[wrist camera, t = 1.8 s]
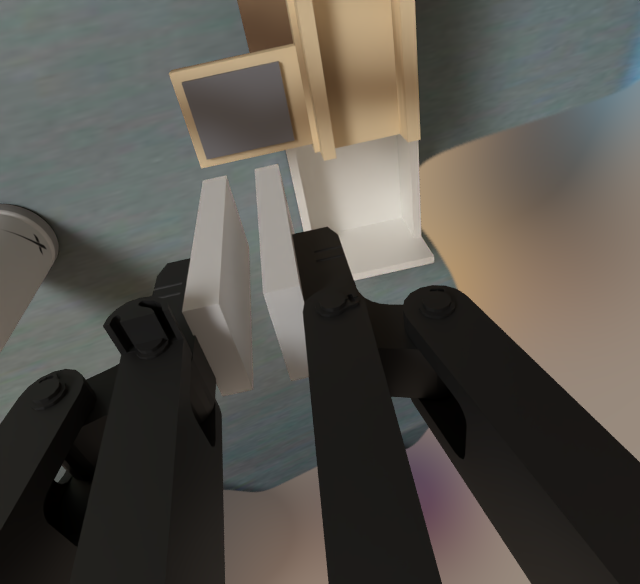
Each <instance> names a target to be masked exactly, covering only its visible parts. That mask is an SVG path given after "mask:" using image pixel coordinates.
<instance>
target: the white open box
mask: <svg viewBox="0 0 640 584" xmlns="http://www.w3.org/2000/svg"><path fill="white" fill-rule="evenodd" d="M335 151H336V158H335V159H331V160H326V161H324V160H323V157H322V155H321V153H320V152H316V153H315V152H314V149H313V147H312V144H310V145H305V146H301V147H296V148H291V149H287V150H286V154H287V159H288V163H289V168H290V172H291V177H292V181H293V186H294V190H295V195H296V199H297V204H298V208H299V213H300V217H301V222H302V226H303V231H304V232H305V231H310V230H314V229H319V228H323V227H329V228H330V229H331V230H333V231H334V232H335V233H337V234H338V236H339V239H340V242H341V245H342V247H343V250H344V253H345V256H346V259H347V262H348V265H349V268H350V271H351V273H352V276H353V279H354V280H359V279H363V278H368V277H372V276H377V275H381V274H386V273H390V272H394V271H399V270H403V269H408V268H412V267H417V266H421V265H426V264H430V263H434V255H433V254H432V252H431V251H430V249H429V247H428V246H427V244H426V243H425V241H424V240H423V238H422V236H421V210H420V179H419V148H418V140H417V141H412V142H407V141H406V140H405V139H404V138H403V137H402V136H401V135H400V134H398V135H393V136H389V137H384V138H380V139H375V140H371V141H366V142H362V143H357V144H353V145H348V146H344V147H339V148H335Z"/></svg>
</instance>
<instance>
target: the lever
mask: <svg viewBox="0 0 640 584" xmlns="http://www.w3.org/2000/svg"><path fill="white" fill-rule="evenodd" d="M285 1H286V6H287V12H288V17H289V22H290V28H291V33H292V39H293V44H289V45H284V46H280V47H275V48H270V49H266V50H261V51H257V52H252V53H248V54H243V55H238V56H234V57H229V58H225V59H220V60H216V61H211V62H206V63H202V64H197V65H193V66H188V67H184V68H179V69H174V70H171V71H170V73H169V75H170V78H171V81H172V84H173V87H174V90H175V93H176V96H177V99H178V101H179V104H180V107H181V110H182V113H183V116H184V119H185V122H186V125H187V128H188V131H189V134H190V136H191V139H192V142H193V145H194V148H195V151H196V154H197V157H198V160H199V163H200V166H201V168H205V167H210V166H214V165H219V164H224V163H228V162H233V161H237V160H242V159H246V158H251V157H255V156H260V155H264V154H269V153H273V152H278V151H282V150H287V149H291V148H296V147H301V146H305V145H310V144H312V147H313V149H314V152H315V153H316V152H320V153H321V155H322V157H323V160H324V161H326V160H331V159H335V158H336V151H335V148H339V147H344V146H348V145H353V144H357V143H362V142H366V141H371V140H375V139H380V138H384V137H389V136H393V135H398V134H400V135H401V136H402V137H403V138H404V139H405V140H406V141H407V142H412V141H417V140H421V137H420V113H419V89H418V65H417V40H416V16H415V0H285Z"/></svg>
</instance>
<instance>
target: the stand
mask: <svg viewBox="0 0 640 584" xmlns="http://www.w3.org/2000/svg"><path fill="white" fill-rule="evenodd" d="M237 1H238V5H239V10H240V14H241V18H242V22H243V26H244V30H245V35H246V39H247V43H248V47H249V51H250V53H252V52H257V51H261V50H266V49H270V48H275V47H280V46H284V45H289V44H293V39H292V33H291V28H290V22H289V17H288V12H287V6H286V1H285V0H237Z"/></svg>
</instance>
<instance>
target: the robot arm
mask: <svg viewBox="0 0 640 584" xmlns="http://www.w3.org/2000/svg"><path fill="white" fill-rule="evenodd" d="M255 180H256V195H257V210H258V224H259V239H260V254H261V268H262V283H263V295H264V298H265V301H266V304H267V307H268V310H269V313H270V316H271V320H272V323H273V326H274V329H275V332H276V335H277V338H278V342H279V345H280V348H281V351H282V354H283V357H284V360H285V363H286V367H287V370H288V373H289V376H290V379H291V381H293V380H298V379H302V378H306V377H309V383H310V394H311V404H312V414H313V425H314V435H315V446H316V456H317V466H318V477H319V487H320V497H321V508H322V518H323V528H324V539H325V549H326V560H327V570H328V581H329V584H442V582H441V578H440V575H439V571H438V568H437V564H436V560H435V556H434V553H433V549H432V545H431V542H430V538H429V534H428V531H427V527H426V523H425V520H424V516H423V512H422V509H421V505H420V502H419V498H418V494H417V491H416V487H415V483H414V479H413V476H412V472H411V468H410V465H409V461H408V457H407V454H406V450H405V447H404V443H403V439H402V436H401V432H400V428H399V425H398V421H397V417H396V414H395V410H394V406H393V403H392V399H391V397H407V398H411V400H412V402H413V404H414V405H415V407H416V408H417V410H418V411H419V413H420V414H421V416H422V417H423V419H424V420H425V422H426V423H427V425H428V426H429V428H430V429H431V431H432V433H433V434H434V436H435V437H436V439H437V440H438V442H439V443H440V445H441V446H442V448H443V449H444V451H445V452H446V454H447V455H448V457H449V459H450V460H451V462H452V463H453V465H454V466H455V468H456V469H457V471H458V472H459V474H460V475H461V477H462V478H463V480H464V481H465V483H466V485H467V486H468V488H469V489H470V491H471V492H472V493H473V495H474V497H475V498H476V500H477V501H478V503H479V504H480V506H481V507H482V509H483V511H484V512H485V514H486V515H487V516H488V518H489V520H490V521H491V523H492V524H493V526H494V527H495V529H496V530H497V532H498V533H499V535H500V536H501V538H502V540H503V541H504V543H505V544H506V546H507V547H508V549H509V550H510V552H511V553H512V555H513V556H514V558H515V559H516V561H517V562H518V564H519V565H520V567H521V569H522V570H523V571H524V573H525V574H526V576H527V578H528V579H529V581H530V582H531V584H640V462H639V461H638V460H637V459H636V458H635V457H634V456H633V455H632V454H631V453H630V452H629V451H628V450H627V449H625V448H624V447H623V446H622V445H621V444H620V443H619V442H618V441H617V440H616V439H615V438H614V437H613V436H612V435H611V434H610V433H609V432H608V431H607V430H606V429H605V428H604V427H603V426H601V424H600V423H598V422H597V421H596V420H595V419H594V418H593V417H592V416H591V415H590V414H589V413H588V412H587V411H586V410H585V409H584V408H583V407H582V406H581V405H580V404H579V403H578V402H577V401H576V400H575V399H574V398H572V397H571V396H570V395H569V394H568V393H567V392H566V391H565V390H564V389H563V388H562V387H561V386H560V385H559V384H558V383H557V382H556V381H555V380H554V379H553V378H552V377H551V376H550V375H549V374H548V373H546V372H545V371H544V370H543V369H542V368H541V367H540V366H539V365H538V364H537V363H536V362H535V361H534V360H533V359H532V358H531V357H530V356H529V355H528V354H527V353H526V352H525V351H524V350H523V349H522V348H520V347H519V346H518V345H517V344H516V343H515V342H514V341H513V340H512V339H511V338H510V337H509V336H508V335H507V334H506V333H505V332H504V331H503V330H502V329H501V328H500V327H499V326H498V325H497V324H495V323H494V321H492V320H491V319H490V318H489V317H488V316H487V315H486V314H485V313H484V312H483V311H482V310H481V309H480V308H479V307H478V306H477V305H476V304H475V303H474V302H473V301H472V300H471V299H470V298H469V297H468V296H466V295H465V294H464V293H462V292H461V291H459V290H458V289H455V288H451V287H448V286H437V285H432V286H427V287H423V288H419V289H417V290H416V291H414V292H412V293H410V294H409V296H408V297H407V298H406V299H405V300H404V305H388V304H379V303H375V302H372V301H370V300H368V299H366V298H364V297H363V296H362V295H361V294H360V293H359V292H358V290H357V288H356V285H355V282H354V279H353V276H352V273H351V271H350V268H349V265H348V262H347V259H346V256H345V253H344V250H343V247H342V245H341V242H340V239H339V236H338V234H337V233H335V232H334V231H333V230H331V229H330V228H329V227H323V228H319V229H314V230H310V231H305V232H301V233H296V234H295V233H294V229H293V225H292V221H291V216H290V212H289V208H288V204H287V200H286V195H285V191H284V187H283V183H282V179H281V174H280V170H279V166H278V164H275V165H271V166H266V167H262V168H257V169H255ZM154 289H155V291H153V295H152V296H150V297H143V298H138V299H136V300H133V301H130V302H128V303H126V304H124V305H123V306H121V307H119V308H118V309H116V310H115V311H114V312H113V313H112V314H111V315H110V316H109V317H108V318H107V320H106V322H105V324H104V325H103V327H104V328H105V330H106V332H107V333H108V335H109V336H110V338H111V339H112V341H113V342H114V344H115V346H116V347H117V349H118V350H119V352H120V353H121V359H120V363H119V364H118V365H116V366H114V367H112V368H110V369H108V370H106V371H104V372H102V373H100V374H97V375H95V376H93V377H91V378H89V379H87V380H85V378H84V377H83V376H82V374H80V373H79V372H78V371H76V370H70V369H64V370H59V371H55V372H52V373H50V374H48V375H46V376H44V377H41V378H40V379H38V380H37V381H36V382H34V383H33V384H32V385H30V386H29V387H28V388H27V389H26V390H25V391H24V392H23V393H22V395H21V396H20V397H19V398H18V400H17V401H16V402H15V404H14V405H13V407H12V408H11V410H10V411H9V413H8V414H7V415H6V417H5V418H4V420H3V421H2V423H1V424H0V584H225V562H224V513H223V511H224V510H223V460H222V414H221V411H220V407H219V405H218V403H217V401H216V399H215V390H216V384H217V386H218V388H219V390H220V392H221V394H222V396H226V395H231V394H235V393H240V392H244V391H249V390H253V358H252V326H251V294H250V261H249V245H248V242H247V239H246V236H245V232H244V229H243V226H242V223H241V220H240V217H239V214H238V210H237V207H236V204H235V201H234V198H233V195H232V192H231V188H230V185H229V182H228V179H227V176H221V177H217V178H212V179H208V180H203V184H202V190H201V196H200V202H199V209H198V215H197V221H196V227H195V234H194V240H193V246H192V252H191V258H190V259H185V260H181V261H176V262H172V263H168V264H167V265H166V266H165V267H164V268H163V270H162V271H161V272H160V273H159V275H158V276H157V280H156V284H155V287H154ZM61 465H62V466H63V467H64V468H65V469H66V472H65V474H64V476H63V477H62V478H61V480H60V481H59V482H58V483H57V482H55V481H54V479H55V477H56V475H57V473H58V471H59V469H60V467H61Z"/></svg>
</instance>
